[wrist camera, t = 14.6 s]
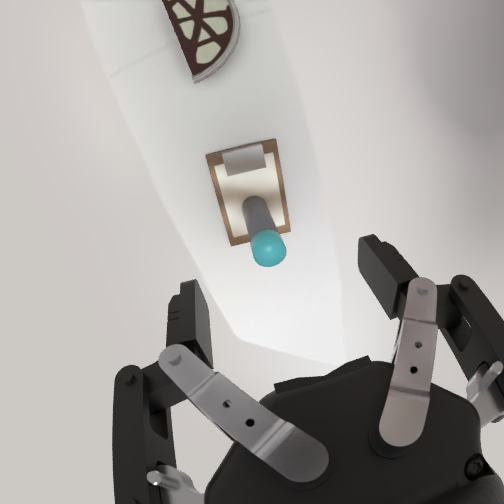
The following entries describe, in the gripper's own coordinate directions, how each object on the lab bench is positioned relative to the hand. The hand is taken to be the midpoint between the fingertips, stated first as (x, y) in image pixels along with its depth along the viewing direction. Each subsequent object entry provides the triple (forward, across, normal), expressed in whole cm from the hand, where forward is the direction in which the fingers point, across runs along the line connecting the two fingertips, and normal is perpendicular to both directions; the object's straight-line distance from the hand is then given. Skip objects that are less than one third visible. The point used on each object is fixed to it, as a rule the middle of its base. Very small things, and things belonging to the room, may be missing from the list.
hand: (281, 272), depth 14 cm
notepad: (+26, -1, +8) cm, 27 cm away
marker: (+25, -1, +10) cm, 27 cm away
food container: (+26, 0, -15) cm, 30 cm away
